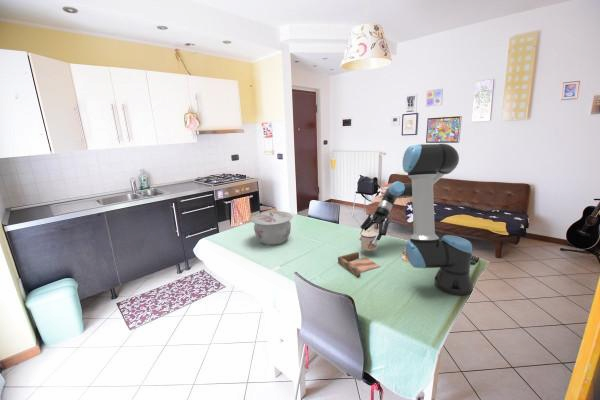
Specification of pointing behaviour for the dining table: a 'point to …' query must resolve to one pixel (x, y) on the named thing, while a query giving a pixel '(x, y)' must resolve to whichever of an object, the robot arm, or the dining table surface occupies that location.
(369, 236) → the teacup with lid
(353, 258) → the low wooden tray
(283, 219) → the chamber pot
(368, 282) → the dining table surface
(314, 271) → the dining table surface
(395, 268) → the dining table surface
